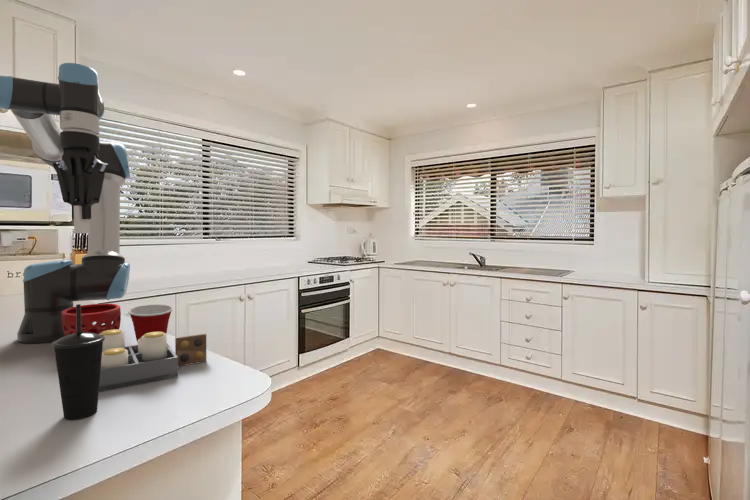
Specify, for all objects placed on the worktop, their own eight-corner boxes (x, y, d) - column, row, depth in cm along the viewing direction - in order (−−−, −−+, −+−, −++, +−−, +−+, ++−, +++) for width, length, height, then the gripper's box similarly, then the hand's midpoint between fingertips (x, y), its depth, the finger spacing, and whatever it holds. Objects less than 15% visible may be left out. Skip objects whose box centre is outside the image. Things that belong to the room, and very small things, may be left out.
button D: (140, 356, 92) (140, 333, 92) (164, 352, 95) (164, 330, 95) (143, 361, 88) (143, 337, 88) (168, 357, 91) (168, 334, 91)
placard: (175, 365, 98) (175, 337, 98) (205, 360, 103) (205, 333, 102) (176, 366, 97) (176, 338, 97) (206, 361, 102) (206, 334, 101)
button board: (90, 370, 94) (89, 351, 94) (165, 358, 104) (165, 341, 104) (92, 392, 81) (92, 371, 81) (178, 376, 91) (178, 357, 91)
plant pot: (62, 349, 110) (61, 306, 110) (119, 341, 118) (118, 301, 118) (62, 361, 100) (60, 314, 99) (123, 352, 108) (122, 308, 107)
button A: (98, 353, 94) (98, 330, 93) (123, 349, 97) (123, 327, 96) (99, 359, 90) (99, 335, 89) (125, 355, 93) (125, 332, 92)
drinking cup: (72, 405, 76) (70, 300, 75) (114, 404, 76) (113, 300, 75) (42, 424, 68) (39, 308, 67) (89, 423, 69) (87, 308, 68)
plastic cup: (128, 359, 102) (128, 313, 102) (128, 348, 111) (127, 306, 111) (175, 353, 108) (175, 309, 108) (171, 343, 117) (171, 303, 117)
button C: (100, 373, 88) (100, 349, 87) (127, 369, 91) (126, 345, 90) (101, 380, 84) (101, 355, 83) (129, 375, 87) (129, 351, 86)
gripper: (40, 130, 91) (43, 232, 92) (91, 128, 89) (93, 233, 91) (69, 137, 99) (72, 232, 100) (117, 136, 97) (118, 233, 98)
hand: (82, 233), depth 95 cm, fingers closed
